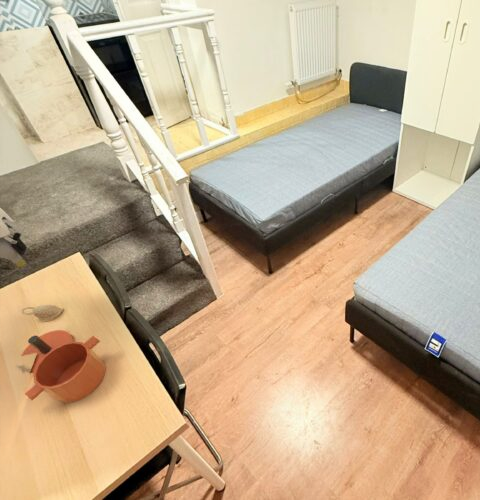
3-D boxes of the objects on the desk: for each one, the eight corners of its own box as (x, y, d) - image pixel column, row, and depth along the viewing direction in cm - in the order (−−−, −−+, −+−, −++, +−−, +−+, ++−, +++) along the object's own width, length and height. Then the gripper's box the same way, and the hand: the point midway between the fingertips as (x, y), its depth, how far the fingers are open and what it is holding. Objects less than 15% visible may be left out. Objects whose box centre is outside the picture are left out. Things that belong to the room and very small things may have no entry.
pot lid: (13, 360, 94) (-5, 347, 89) (58, 325, 102) (43, 311, 97) (38, 382, 89) (20, 370, 84) (83, 344, 97) (69, 331, 92)
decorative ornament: (59, 319, 103) (48, 309, 99) (30, 323, 102) (19, 313, 99) (64, 308, 106) (54, 298, 102) (36, 312, 105) (25, 302, 101)
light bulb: (7, 267, 94) (-19, 242, 87) (28, 256, 97) (4, 230, 90) (16, 275, 92) (-10, 249, 85) (37, 263, 95) (13, 237, 88)
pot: (34, 396, 86) (11, 382, 80) (96, 342, 97) (80, 326, 91) (61, 421, 82) (39, 408, 76) (123, 362, 92) (108, 346, 86)
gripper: (6, 184, 82) (50, 238, 95) (-75, 197, 79) (-19, 251, 92) (-7, 202, 77) (41, 256, 90) (-94, 216, 74) (-31, 270, 87)
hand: (10, 253), depth 91 cm, fingers closed on light bulb, 5 cm apart
